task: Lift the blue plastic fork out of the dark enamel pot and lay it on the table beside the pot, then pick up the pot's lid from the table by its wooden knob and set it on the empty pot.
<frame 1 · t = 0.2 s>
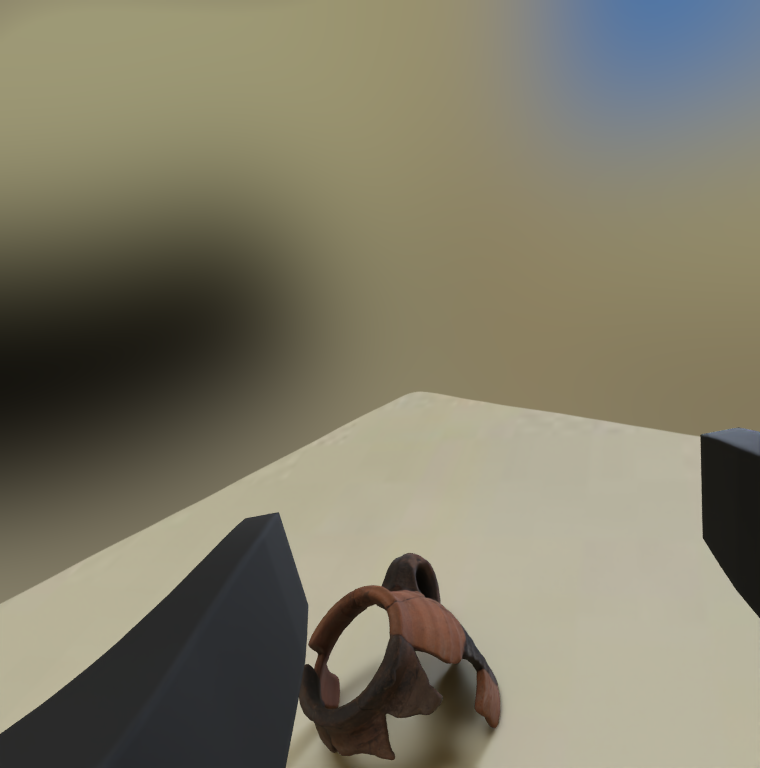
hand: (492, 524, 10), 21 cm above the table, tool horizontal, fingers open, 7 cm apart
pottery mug: (413, 696, 33), on the table
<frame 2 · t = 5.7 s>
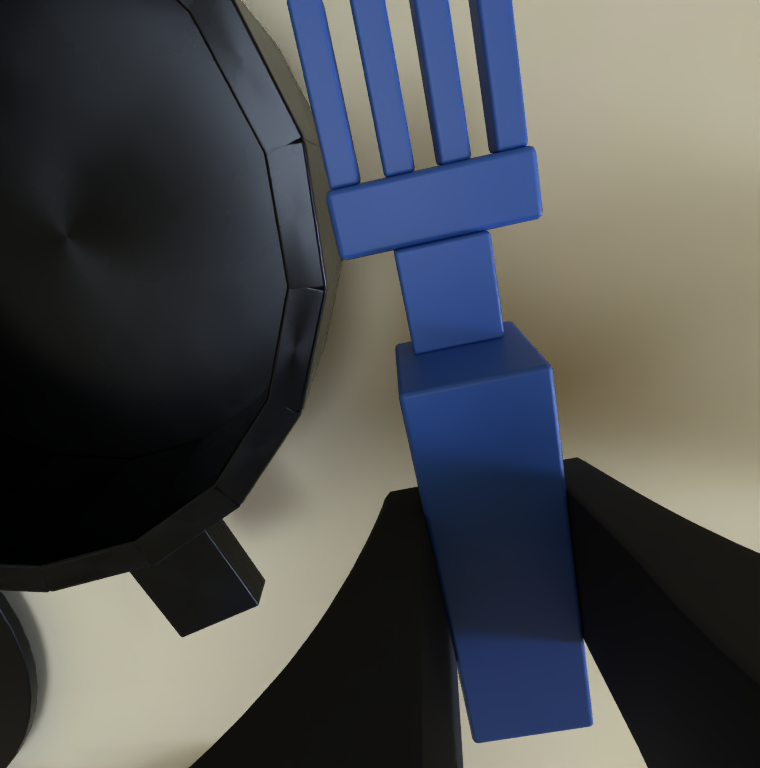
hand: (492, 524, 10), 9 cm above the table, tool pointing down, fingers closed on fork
fork: (481, 495, 11), point 8 cm above the table, touching gripper
pot: (75, 235, 17), on the table
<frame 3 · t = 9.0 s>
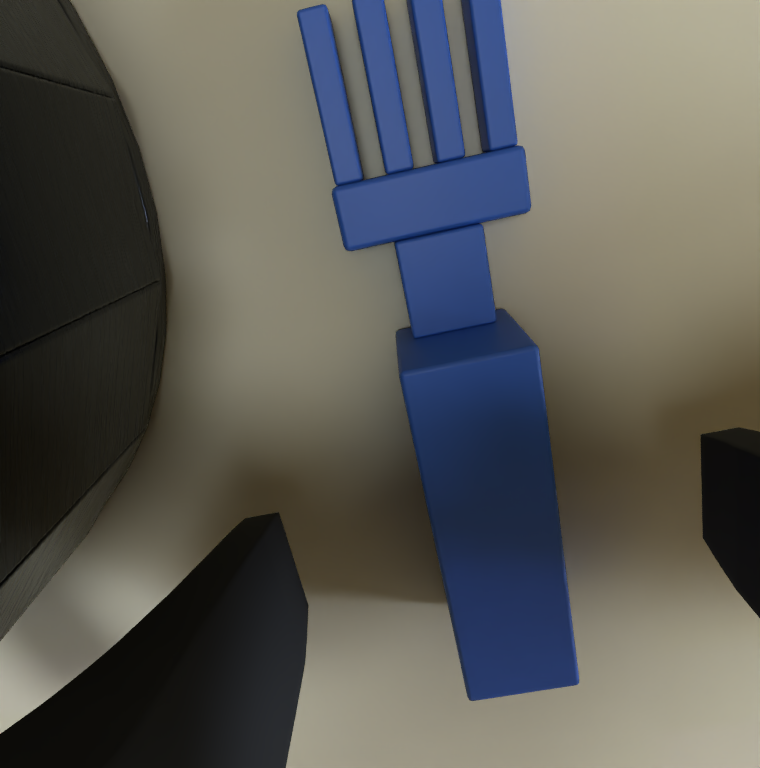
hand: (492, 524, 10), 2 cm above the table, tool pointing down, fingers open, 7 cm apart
fork: (476, 472, 11), on the table
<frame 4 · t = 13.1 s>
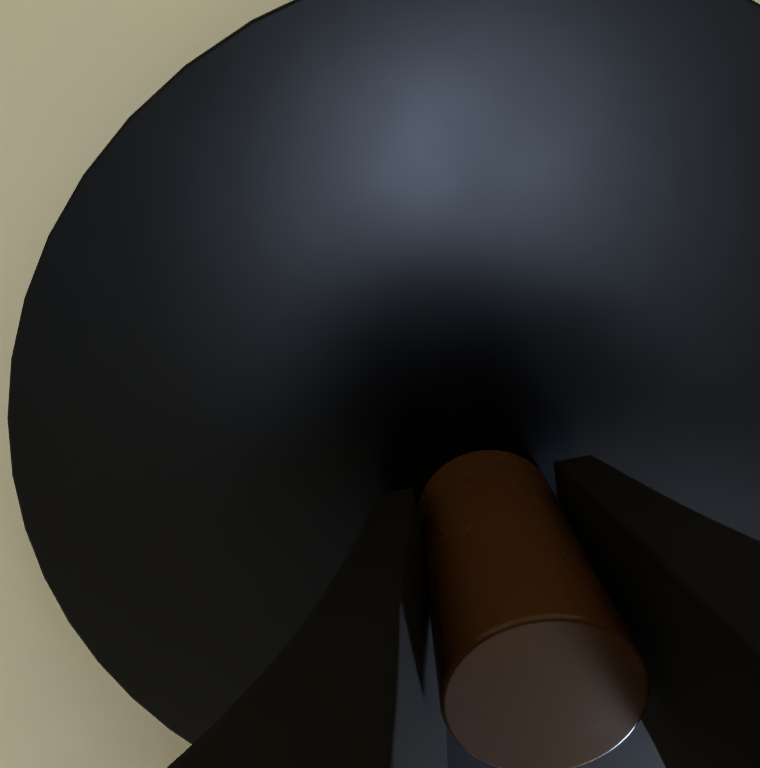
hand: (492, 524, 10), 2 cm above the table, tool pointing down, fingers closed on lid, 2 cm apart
lid: (480, 493, 11), point 1 cm above the table, touching gripper
when the fingers open (7 cm above the table, at t = 17.2 s): lid stays where it is, resting on pot.
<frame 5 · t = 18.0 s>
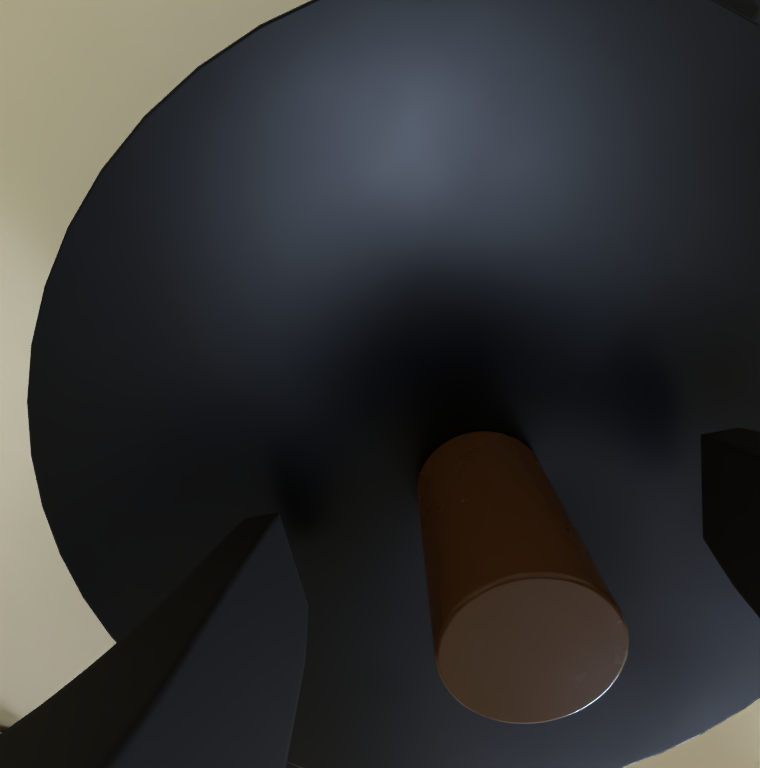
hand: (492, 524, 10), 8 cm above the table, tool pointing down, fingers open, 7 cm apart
lid: (475, 474, 11), point 6 cm above the table, touching pot
pot: (445, 376, 17), on the table
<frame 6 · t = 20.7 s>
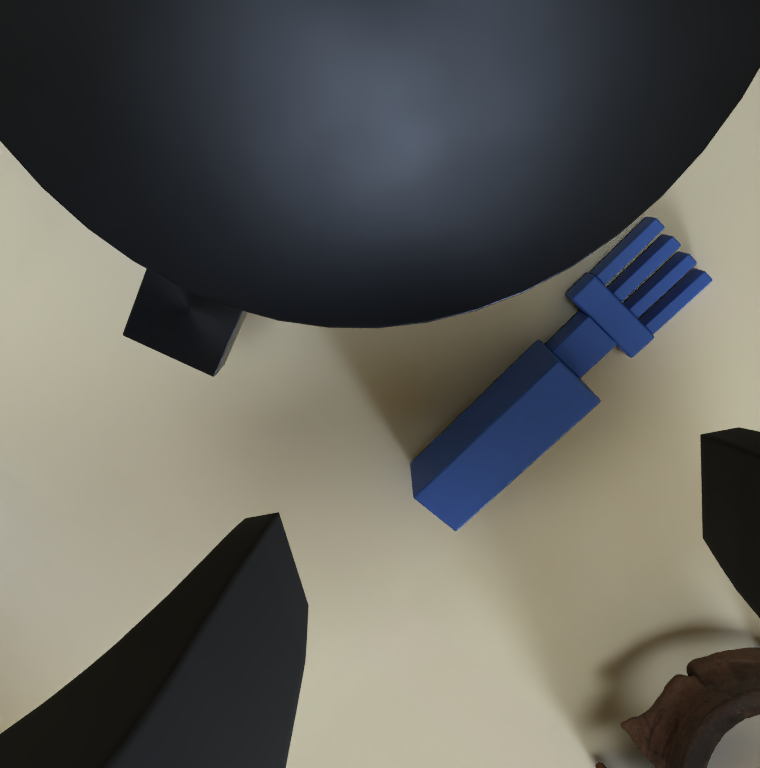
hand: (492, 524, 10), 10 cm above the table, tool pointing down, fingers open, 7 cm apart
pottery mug: (699, 717, 26), on the table
fork: (490, 420, 20), on the table
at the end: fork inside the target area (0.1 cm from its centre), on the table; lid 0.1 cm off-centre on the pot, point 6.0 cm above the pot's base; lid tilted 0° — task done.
